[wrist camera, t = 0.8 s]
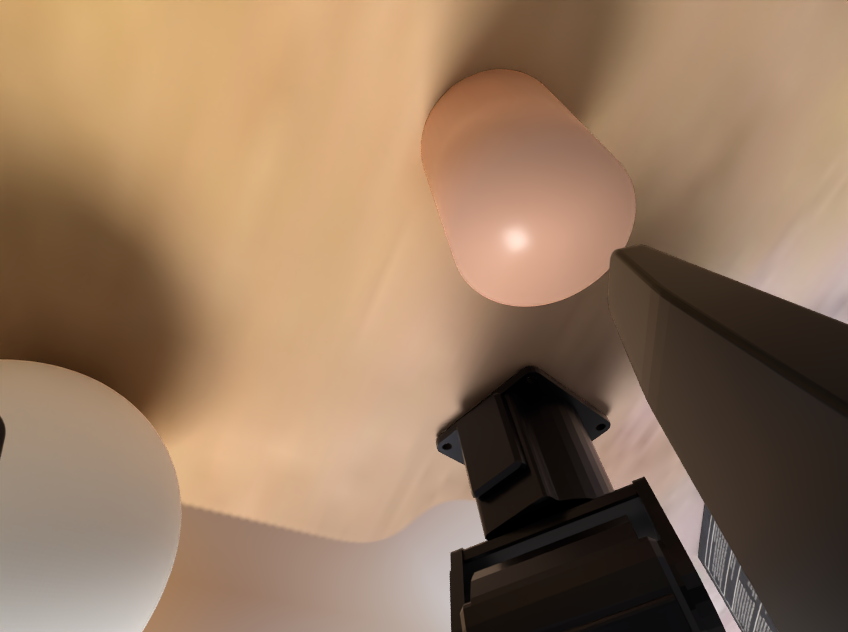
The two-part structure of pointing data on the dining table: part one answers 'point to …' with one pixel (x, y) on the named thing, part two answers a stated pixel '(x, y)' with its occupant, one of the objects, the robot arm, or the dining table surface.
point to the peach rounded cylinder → (523, 190)
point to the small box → (731, 579)
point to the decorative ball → (81, 505)
